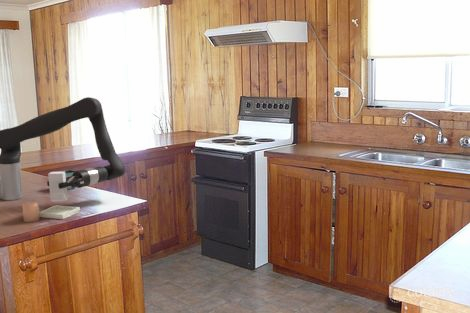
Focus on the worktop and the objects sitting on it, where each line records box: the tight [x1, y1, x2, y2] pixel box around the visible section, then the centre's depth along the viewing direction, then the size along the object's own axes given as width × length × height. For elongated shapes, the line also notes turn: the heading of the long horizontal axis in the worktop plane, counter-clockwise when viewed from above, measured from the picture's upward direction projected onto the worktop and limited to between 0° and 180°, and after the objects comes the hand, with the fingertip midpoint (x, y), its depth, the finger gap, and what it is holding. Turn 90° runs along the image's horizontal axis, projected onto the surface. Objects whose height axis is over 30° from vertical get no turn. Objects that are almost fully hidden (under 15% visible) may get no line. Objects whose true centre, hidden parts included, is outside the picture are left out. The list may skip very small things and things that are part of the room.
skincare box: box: [47, 170, 69, 202], centre depth 210 cm, size 6×4×12 cm
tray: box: [39, 204, 81, 220], centre depth 212 cm, size 12×12×2 cm
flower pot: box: [58, 169, 76, 191], centre depth 257 cm, size 9×9×9 cm
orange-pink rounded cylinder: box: [22, 200, 41, 223], centre depth 204 cm, size 6×6×7 cm
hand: (53, 185), depth 208 cm, fingers closed on skincare box, 7 cm apart
